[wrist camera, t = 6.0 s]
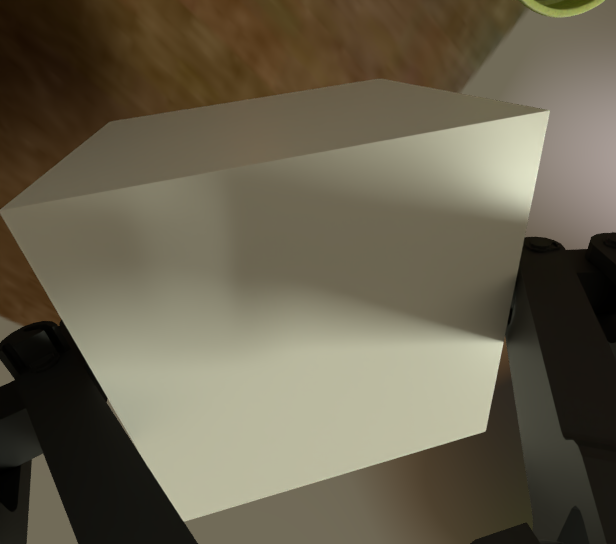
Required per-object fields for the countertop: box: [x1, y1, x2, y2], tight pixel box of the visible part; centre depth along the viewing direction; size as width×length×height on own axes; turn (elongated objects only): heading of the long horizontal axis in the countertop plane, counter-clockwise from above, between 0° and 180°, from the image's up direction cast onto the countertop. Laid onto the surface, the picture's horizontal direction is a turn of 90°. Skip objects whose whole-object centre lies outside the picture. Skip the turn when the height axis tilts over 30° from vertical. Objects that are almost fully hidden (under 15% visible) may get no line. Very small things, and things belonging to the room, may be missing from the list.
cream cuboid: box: [0, 79, 550, 522], centre depth 13 cm, size 10×10×9 cm
